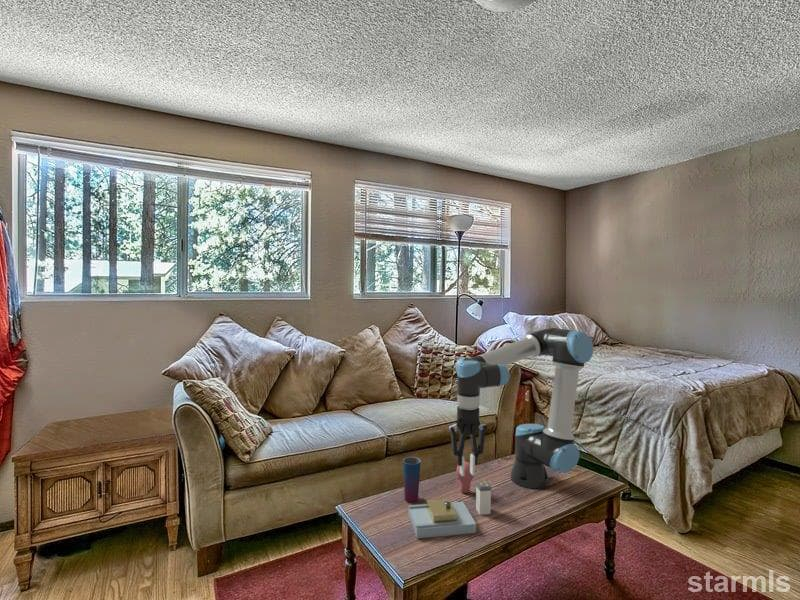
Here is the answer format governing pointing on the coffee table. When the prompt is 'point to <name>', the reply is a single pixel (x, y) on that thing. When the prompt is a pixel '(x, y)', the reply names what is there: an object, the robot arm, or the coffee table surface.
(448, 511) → the panel
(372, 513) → the coffee table surface
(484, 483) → the plug
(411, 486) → the cup
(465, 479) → the light bulb
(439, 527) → the socket board
